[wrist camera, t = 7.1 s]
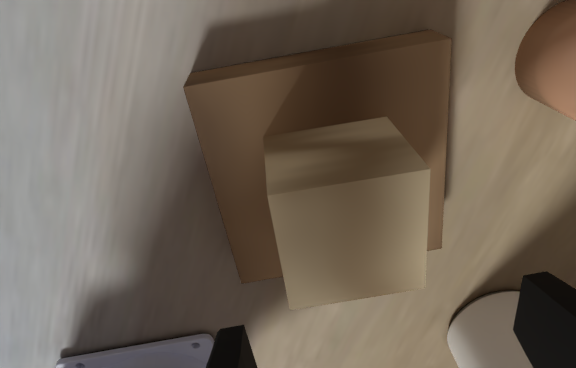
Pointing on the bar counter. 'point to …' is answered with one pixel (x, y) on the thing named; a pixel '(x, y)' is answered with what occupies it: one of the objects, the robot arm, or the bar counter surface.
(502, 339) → the can
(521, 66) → the brown rounded piece
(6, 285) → the bar counter surface
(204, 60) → the bar counter surface
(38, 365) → the bar counter surface
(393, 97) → the board
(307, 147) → the block
